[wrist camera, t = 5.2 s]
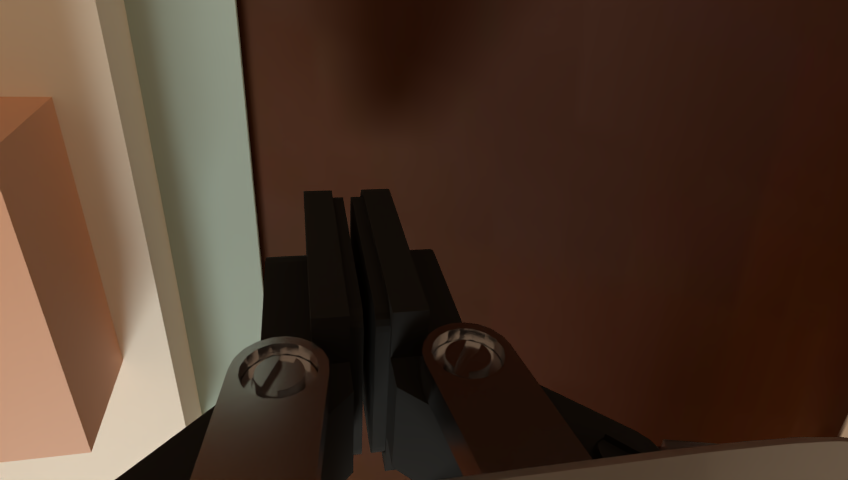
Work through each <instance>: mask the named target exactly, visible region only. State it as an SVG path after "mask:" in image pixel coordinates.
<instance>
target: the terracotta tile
mask: <svg viewBox="0 0 848 480" xmlns="http://www.w3.org/2000/svg"><path fill="white" fill-rule="evenodd" d="M122 362H123V358H122V355H121V351H120V347H119V343H118V340H117V336H116V332H115V329H114V325H113V321H112V318H111V314H110V310H109V306H108V303H107V299H106V295H105V292H104V288H103V284H102V281H101V277H100V273H99V269H98V266H97V262H96V258H95V255H94V251H93V247H92V244H91V240H90V236H89V232H88V229H87V225H86V221H85V218H84V214H83V210H82V207H81V203H80V199H79V195H78V192H77V188H76V184H75V181H74V177H73V173H72V170H71V166H70V162H69V158H68V155H67V151H66V147H65V144H64V140H63V136H62V133H61V129H60V125H59V121H58V118H57V114H56V110H55V107H54V103H53V99H52V97H0V462H9V461H18V460H27V459H36V458H45V457H54V456H63V455H72V454H81V453H90V452H92V449H93V446H94V443H95V440H96V437H97V434H98V431H99V429H100V426H101V423H102V420H103V417H104V414H105V411H106V408H107V406H108V403H109V400H110V397H111V394H112V391H113V388H114V385H115V383H116V380H117V377H118V374H119V371H120V368H121V365H122Z"/></svg>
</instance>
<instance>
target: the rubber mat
mask: <svg viewBox="0 0 848 480" xmlns="http://www.w3.org/2000/svg"><path fill="white" fill-rule="evenodd" d="M124 4H125V10H126V15H127V20H128V26H129V31H130V36H131V42H132V47H133V52H134V57H135V63H136V68H137V73H138V79H139V84H140V89H141V95H142V100H143V105H144V110H145V116H146V121H147V126H148V132H149V137H150V142H151V148H152V153H153V158H154V163H155V169H156V174H157V179H158V185H159V190H160V195H161V201H162V206H163V211H164V216H165V222H166V227H167V232H168V238H169V243H170V248H171V254H172V259H173V264H174V269H175V275H176V280H177V285H178V291H179V296H180V301H181V307H182V312H183V317H184V322H185V328H186V333H187V338H188V344H189V349H190V354H191V360H192V365H193V370H194V375H195V381H196V386H197V391H198V397H199V402H200V407H201V413H202V415H203V414H204V413H205V412H207V411H208V410H209V409H211V408H212V407H214V406H215V405H216V402H217V399H218V396H219V393H220V390H221V387H222V384H223V381H224V378H225V375H226V373H227V370H228V367H229V366H230V364H231V362H232V360H233V359H234V357H235V356H236V355H238V354H239V353H240V352H241V351H242V350H243V349H244V348H246V347H248V346H250V345H252V344H254V343H256V342H258V341H261V327H262V310H263V293H264V286H263V276H262V265H261V254H260V244H259V233H258V223H257V212H256V202H255V191H254V181H253V170H252V160H251V149H250V138H249V128H248V117H247V107H246V96H245V86H244V75H243V65H242V54H241V43H240V33H239V22H238V12H237V1H236V0H124Z"/></svg>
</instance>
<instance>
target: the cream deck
mask: <svg viewBox="0 0 848 480" xmlns="http://www.w3.org/2000/svg"><path fill="white" fill-rule="evenodd" d="M0 97H52V99H53V103H54V107H55V110H56V114H57V118H58V121H59V125H60V129H61V133H62V136H63V140H64V144H65V147H66V151H67V155H68V158H69V162H70V166H71V170H72V173H73V177H74V181H75V184H76V188H77V192H78V195H79V199H80V203H81V207H82V210H83V214H84V218H85V221H86V225H87V229H88V232H89V236H90V240H91V244H92V247H93V251H94V255H95V258H96V262H97V266H98V269H99V273H100V277H101V281H102V284H103V288H104V292H105V295H106V299H107V303H108V306H109V310H110V314H111V318H112V321H113V325H114V329H115V332H116V336H117V340H118V343H119V347H120V351H121V355H122V358H123V362H122V365H121V368H120V371H119V374H118V377H117V380H116V383H115V385H114V388H113V391H112V394H111V397H110V400H109V403H108V406H107V408H106V411H105V414H104V417H103V420H102V423H101V426H100V429H99V431H98V434H97V437H96V440H95V443H94V446H93V449H92V452H90V453H81V454H72V455H63V456H54V457H45V458H36V459H27V460H18V461H9V462H0V480H115V479H117V478H118V477H119V476H121V475H122V474H123V473H125V472H126V471H127V470H129V469H130V468H131V467H133V466H134V465H135V464H137V463H138V462H139V461H141V460H142V459H143V458H145V457H146V456H148V455H149V454H150V453H152V452H153V451H154V450H156V449H157V448H158V447H160V446H161V445H162V444H164V443H165V442H166V441H168V440H169V439H170V438H172V437H173V436H174V435H176V434H177V433H178V432H180V431H181V430H183V429H184V428H185V427H187V426H188V425H189V424H191V423H192V422H193V421H195V420H196V419H197V418H199V417H200V416H201V415H202V413H201V407H200V402H199V397H198V391H197V386H196V381H195V375H194V370H193V365H192V360H191V354H190V349H189V344H188V338H187V333H186V328H185V322H184V317H183V312H182V307H181V301H180V296H179V291H178V285H177V280H176V275H175V269H174V264H173V259H172V254H171V248H170V243H169V238H168V232H167V227H166V222H165V216H164V211H163V206H162V201H161V195H160V190H159V185H158V179H157V174H156V169H155V163H154V158H153V153H152V148H151V142H150V137H149V132H148V126H147V121H146V116H145V110H144V105H143V100H142V95H141V89H140V84H139V79H138V73H137V68H136V63H135V57H134V52H133V47H132V42H131V36H130V31H129V26H128V20H127V15H126V10H125V4H124V0H0Z"/></svg>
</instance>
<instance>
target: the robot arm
mask: <svg viewBox="0 0 848 480" xmlns="http://www.w3.org/2000/svg"><path fill="white" fill-rule="evenodd" d="M304 209H305V232H306V254H307V255H305V256H285V257H266V261H265V276H264V293H263V310H262V327H261V341H258V342H256V343H254V344H252V345H250V346H248V347H246V348H244V349H243V350H242V351H241V352H240V353H239V354H238V355H236V356H235V357H234V359H233V360H232V362H231V364H230V366H229V367H228V370H227V373H226V375H225V378H224V381H223V384H222V387H221V390H220V393H219V396H218V399H217V402H216V405H215V406H214V407H212V408H211V409H209V410H208V411H207V412H205V413H204V414H203V415H201V416H200V417H199V418H197V419H196V420H195V421H193V422H192V423H191V424H189V425H188V426H187V427H185V428H184V429H183V430H181V431H180V432H178V433H177V434H176V435H174V436H173V437H172V438H170V439H169V440H168V441H166V442H165V443H164V444H162V445H161V446H160V447H158V448H157V449H156V450H154V451H153V452H152V453H150V454H149V455H148V456H146V457H145V458H143V459H142V460H141V461H139V462H138V463H137V464H135V465H134V466H133V467H131V468H130V469H129V470H127V471H126V472H125V473H123V474H122V475H121V476H119V477H118V478H117V479H115V480H346V479H347V478H348V477H349V476H350V475H351V474H352V473H353V455H356V454H361V453H362V406H363V405H364V411H365V418H366V425H367V432H368V439H369V445H370V451H371V453H373V452H381V451H382V456H383V462H384V468H385V471H388V470H395V469H396V470H398V471H399V472H401V473H402V474H404V475H405V476H407V477H409V478H410V479H411V480H848V438H844V437H793V438H781V439H770V440H754V441H743V442H734V443H725V444H714V443H701V442H689V441H676V440H664V439H663V442H662V444H661V447H657V446H656V445H655V444H654V443H653V442H652V441H651V440H649V439H648V438H646V437H644V436H643V435H641V434H640V433H638V432H636V431H635V430H632V429H630V428H628V427H626V426H624V425H622V424H620V423H618V422H616V421H614V420H612V419H610V418H608V417H605V416H603V415H601V414H599V413H597V412H595V411H593V410H591V409H589V408H587V407H585V406H583V405H580V404H578V403H576V402H574V401H572V400H570V399H568V398H566V397H564V396H562V395H560V394H558V393H556V392H553V391H551V390H549V389H547V388H545V387H543V386H541V385H539V384H538V382H537V381H536V379H535V378H534V377H533V375H532V374H531V372H530V371H529V370H528V368H527V367H526V365H525V364H524V363H523V361H522V360H521V358H520V357H519V356H518V354H517V353H516V351H515V350H514V349H513V347H512V346H511V344H510V343H509V342H508V341H507V340H506V339H505V338H504V337H503V336H502V335H500V334H499V333H497V332H495V331H494V330H492V329H490V328H487V327H485V326H482V325H479V324H472V323H465V322H463V323H462V321H461V319H460V316H459V314H458V311H457V309H456V306H455V304H454V301H453V299H452V296H451V294H450V291H449V289H448V286H447V284H446V281H445V279H444V276H443V274H442V271H441V269H440V266H439V264H438V261H437V259H436V256H435V254H434V252H433V250H431V249H424V250H409V247H408V244H407V241H406V238H405V235H404V232H403V229H402V226H401V223H400V220H399V217H398V214H397V211H396V208H395V205H394V202H393V199H392V196H391V193H390V191H389V189H371V190H361V196H360V197H351V211H350V235H349V229H348V224H347V218H346V213H345V207H344V201H343V197H342V198H333V197H332V191H304Z"/></svg>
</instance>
